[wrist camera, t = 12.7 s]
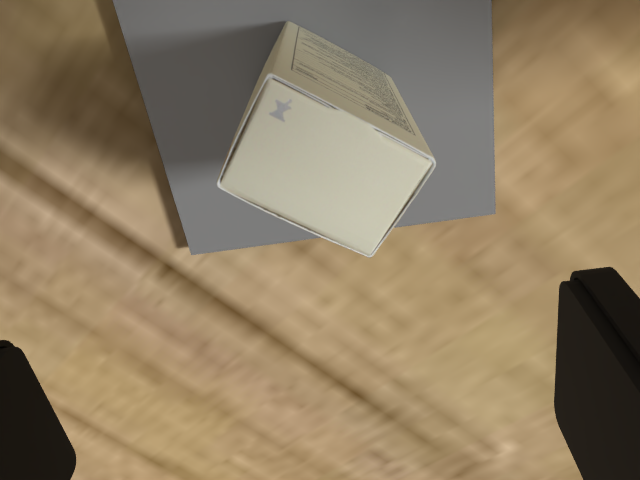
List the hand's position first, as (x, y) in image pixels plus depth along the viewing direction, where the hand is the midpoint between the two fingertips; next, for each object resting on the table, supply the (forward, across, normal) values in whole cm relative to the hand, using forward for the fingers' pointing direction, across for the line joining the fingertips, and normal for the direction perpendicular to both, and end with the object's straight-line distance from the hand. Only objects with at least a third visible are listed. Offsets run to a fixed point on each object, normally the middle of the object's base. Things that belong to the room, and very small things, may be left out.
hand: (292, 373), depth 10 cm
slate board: (+23, 0, +1) cm, 23 cm away
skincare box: (+22, 0, 0) cm, 22 cm away
